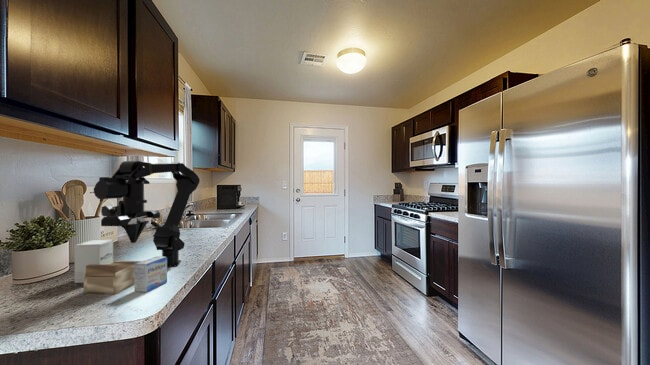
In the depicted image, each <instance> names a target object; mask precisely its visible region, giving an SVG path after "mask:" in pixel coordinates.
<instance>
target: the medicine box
mask: <svg viewBox="0 0 650 365" xmlns="http://www.w3.org/2000/svg"><path fill="white" fill-rule="evenodd" d="M141 261H142V262H139V263H136V264H134V276H135V284H134V292H139V293H141V292H142V293H148V292H150V291H152V290H154V289H156V288H158V287H160V286H162V285H164V284H167V283H168V267H167V257H163V256H162V255H160V256H156V255H155V256H153V257H151V258H148V259H145V260H141Z"/></svg>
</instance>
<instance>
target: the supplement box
mask: <svg viewBox="0 0 650 365" xmlns="http://www.w3.org/2000/svg"><path fill="white" fill-rule="evenodd" d="M112 262H114V239H95V240H89V241H85V242H82V243H77V244H75V245H74V283H75V284H80V283H81V284H82V283H83V284H84V272H86V266H87V265H90V264H97V265H106V264H109V263H112Z"/></svg>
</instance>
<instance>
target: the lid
mask: <svg viewBox="0 0 650 365" xmlns="http://www.w3.org/2000/svg"><path fill="white" fill-rule="evenodd" d="M134 264H136V263H113V264H111V265H97V264H90V265H87V266H86V276H115V273H116V272H119V271H121V270H123V269H126V268H128V267H131V266H133V265H134Z"/></svg>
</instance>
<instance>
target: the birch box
mask: <svg viewBox="0 0 650 365" xmlns="http://www.w3.org/2000/svg"><path fill="white" fill-rule="evenodd" d="M142 261H143V260H138V261H137V260H136V261H135V260H134V261H133V260H130V261H129V260H115V261H114V260H113V262H112V263H109V264H106V265H111V264H113V263H139V262H142ZM132 286H135V276H134V265H133V266H131V267H128V268H126V269H123V270H121V271H119V272H116V273H115V276H86V272H84V282H83V294H98V295H99V294H100V295H102V294H104V295H105V294H107V295H108V294H109V295H111V294H112V295H113V294H114V295H115V294H116V295H117V294H119V293H120V292H123V291H125V290H127V289H128V288H130V287H132Z"/></svg>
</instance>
